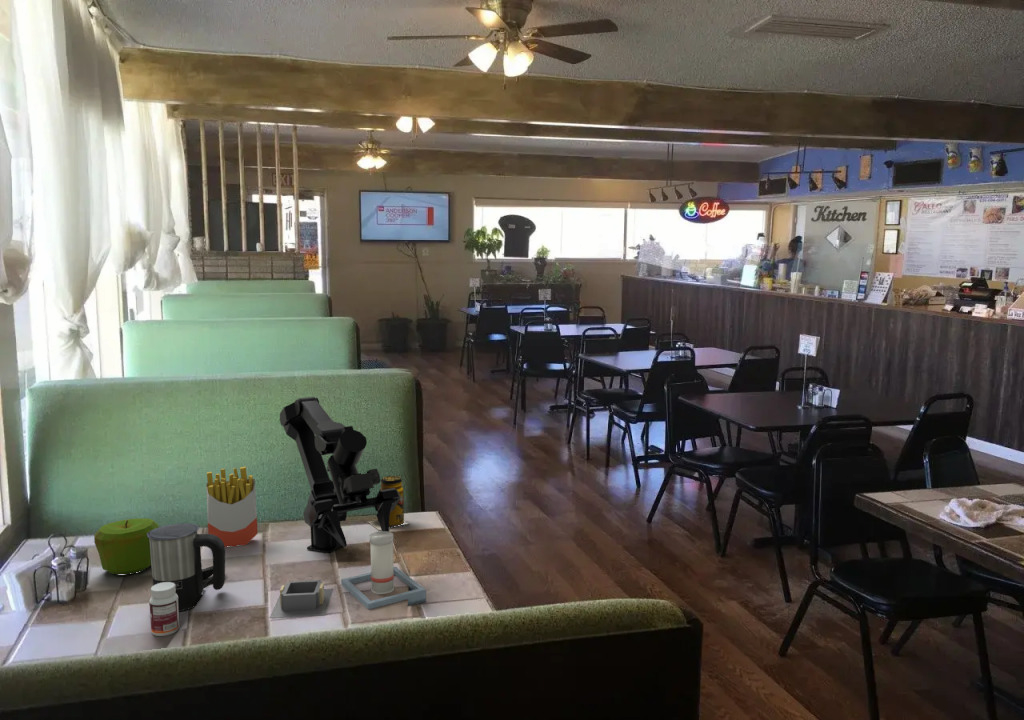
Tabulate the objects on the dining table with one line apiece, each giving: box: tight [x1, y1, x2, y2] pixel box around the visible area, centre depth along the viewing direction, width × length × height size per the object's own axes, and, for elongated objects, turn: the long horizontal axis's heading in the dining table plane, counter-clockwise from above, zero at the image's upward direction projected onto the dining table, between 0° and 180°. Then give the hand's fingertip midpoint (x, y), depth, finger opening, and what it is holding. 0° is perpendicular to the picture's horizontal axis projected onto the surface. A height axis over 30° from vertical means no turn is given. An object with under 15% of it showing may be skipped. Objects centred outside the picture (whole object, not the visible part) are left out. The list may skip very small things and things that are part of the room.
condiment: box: [368, 475, 405, 531], centre depth 197 cm, size 7×8×12 cm
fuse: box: [369, 530, 395, 595], centre depth 153 cm, size 5×5×12 cm
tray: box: [340, 566, 427, 610], centre depth 153 cm, size 14×12×2 cm
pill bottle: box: [148, 582, 181, 637], centre depth 139 cm, size 5×5×8 cm
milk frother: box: [147, 522, 226, 612], centre depth 154 cm, size 14×16×15 cm
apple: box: [93, 517, 160, 575], centre depth 167 cm, size 12×12×11 cm
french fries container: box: [205, 466, 258, 548], centre depth 183 cm, size 5×11×18 cm, turn 109°
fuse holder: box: [269, 579, 334, 619], centre depth 147 cm, size 12×10×5 cm
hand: (366, 541), depth 159 cm, fingers open, 9 cm apart
